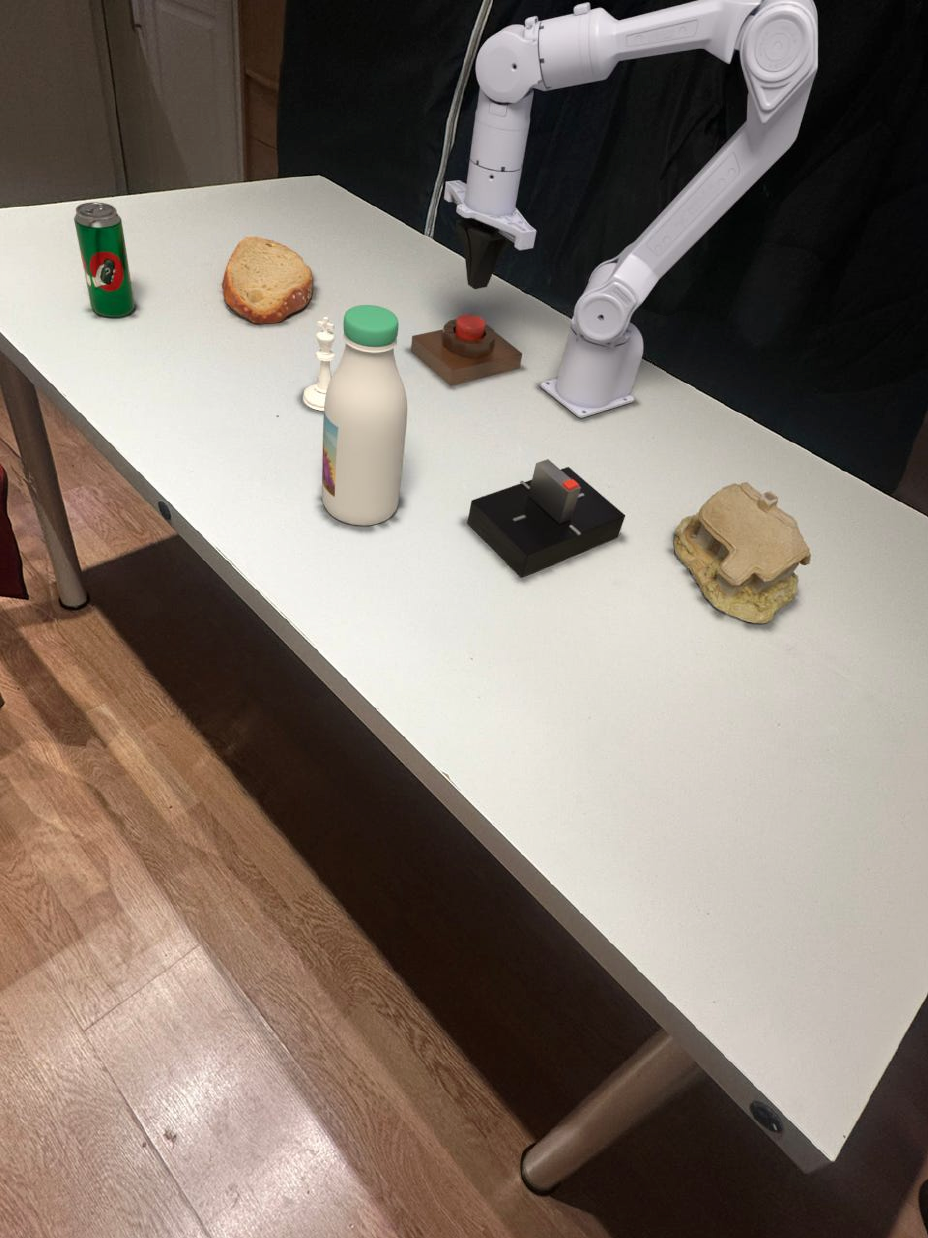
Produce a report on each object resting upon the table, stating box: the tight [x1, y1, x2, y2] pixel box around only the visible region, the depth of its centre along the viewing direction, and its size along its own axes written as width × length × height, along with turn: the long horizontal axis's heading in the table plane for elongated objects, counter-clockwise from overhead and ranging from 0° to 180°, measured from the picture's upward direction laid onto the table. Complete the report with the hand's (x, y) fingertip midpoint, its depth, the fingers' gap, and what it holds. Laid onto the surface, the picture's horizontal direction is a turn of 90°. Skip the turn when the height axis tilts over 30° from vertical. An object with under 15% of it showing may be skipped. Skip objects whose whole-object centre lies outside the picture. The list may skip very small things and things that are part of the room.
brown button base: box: [410, 318, 523, 387], centre depth 104 cm, size 11×9×4 cm
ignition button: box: [455, 313, 486, 340], centre depth 102 cm, size 4×4×2 cm
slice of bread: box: [221, 236, 314, 325], centre depth 111 cm, size 18×18×4 cm
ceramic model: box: [673, 481, 812, 624], centre depth 80 cm, size 14×11×10 cm
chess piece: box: [302, 316, 336, 412], centre depth 91 cm, size 5×5×10 cm
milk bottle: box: [321, 304, 408, 526], centre depth 76 cm, size 8×8×20 cm
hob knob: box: [528, 458, 581, 524], centre depth 80 cm, size 5×2×4 cm, turn 36°
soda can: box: [73, 201, 136, 319], centre depth 98 cm, size 5×5×12 cm
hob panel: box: [466, 466, 626, 578], centre depth 83 cm, size 13×9×3 cm
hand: (477, 285), depth 98 cm, fingers closed
